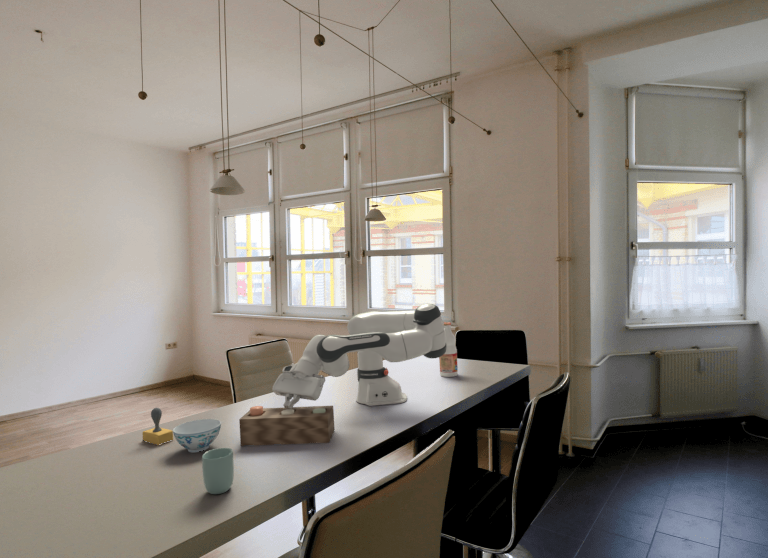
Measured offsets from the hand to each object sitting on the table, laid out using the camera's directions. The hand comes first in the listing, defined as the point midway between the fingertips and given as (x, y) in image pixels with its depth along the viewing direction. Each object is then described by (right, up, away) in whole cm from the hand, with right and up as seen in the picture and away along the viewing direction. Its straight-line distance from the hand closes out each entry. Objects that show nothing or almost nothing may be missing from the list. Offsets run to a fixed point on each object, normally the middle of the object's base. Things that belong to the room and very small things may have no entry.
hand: (287, 407), depth 158 cm
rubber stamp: (-47, -13, +4) cm, 49 cm away
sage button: (+11, -4, -1) cm, 12 cm away
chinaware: (-28, -12, -6) cm, 32 cm away
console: (+1, -11, 0) cm, 11 cm away
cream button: (0, -5, 0) cm, 5 cm away
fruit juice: (+68, -7, +83) cm, 108 cm away
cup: (-10, -12, -38) cm, 41 cm away
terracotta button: (-11, -4, 0) cm, 11 cm away
